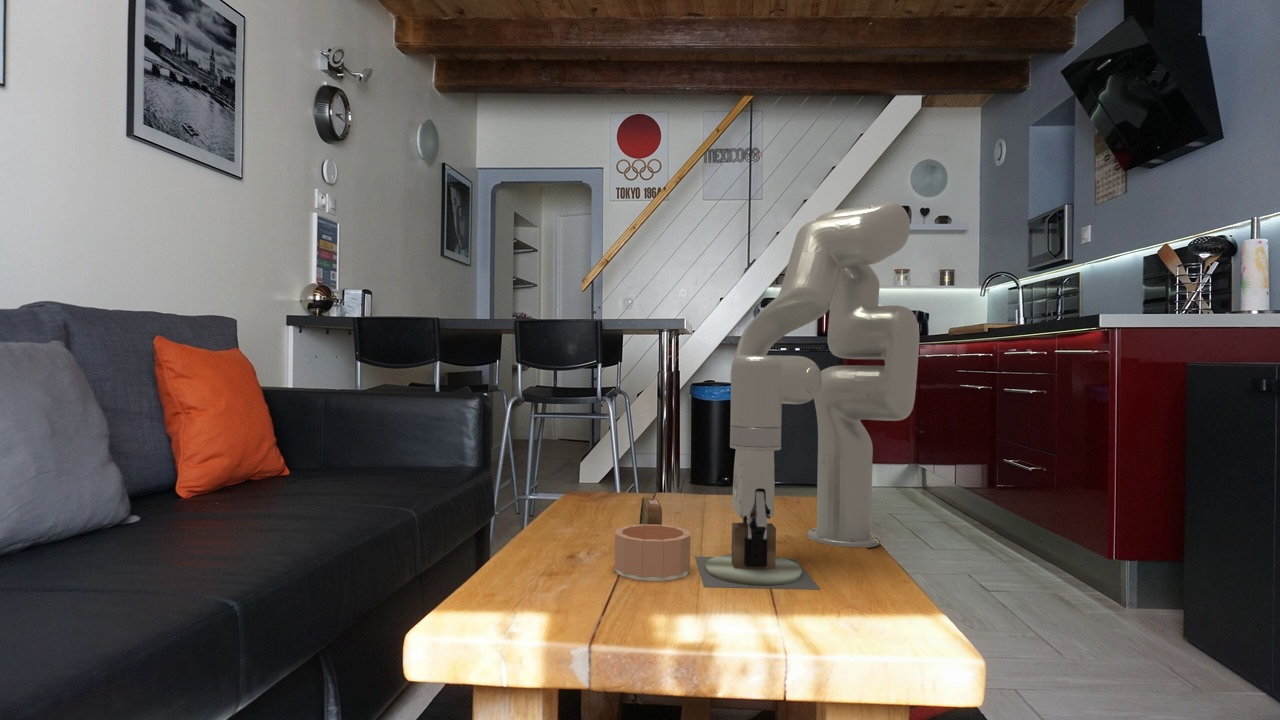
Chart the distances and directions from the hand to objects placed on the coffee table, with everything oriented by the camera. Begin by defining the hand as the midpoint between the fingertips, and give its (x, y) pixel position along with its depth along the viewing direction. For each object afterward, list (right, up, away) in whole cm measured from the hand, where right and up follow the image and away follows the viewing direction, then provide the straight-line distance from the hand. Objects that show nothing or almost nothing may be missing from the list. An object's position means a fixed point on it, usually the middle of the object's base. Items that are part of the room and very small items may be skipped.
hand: (753, 561), depth 105 cm
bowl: (-15, -2, 0) cm, 15 cm away
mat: (0, -2, 0) cm, 2 cm away
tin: (-15, -2, +13) cm, 20 cm away
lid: (0, -1, 0) cm, 1 cm away
